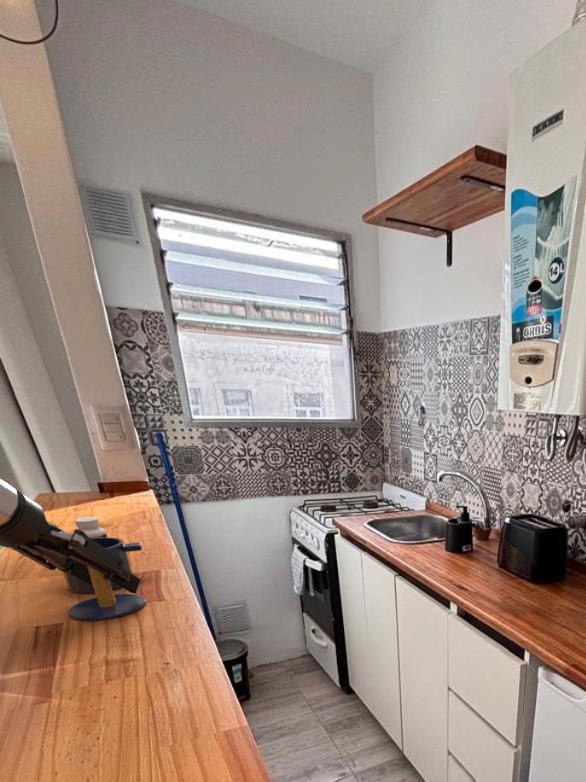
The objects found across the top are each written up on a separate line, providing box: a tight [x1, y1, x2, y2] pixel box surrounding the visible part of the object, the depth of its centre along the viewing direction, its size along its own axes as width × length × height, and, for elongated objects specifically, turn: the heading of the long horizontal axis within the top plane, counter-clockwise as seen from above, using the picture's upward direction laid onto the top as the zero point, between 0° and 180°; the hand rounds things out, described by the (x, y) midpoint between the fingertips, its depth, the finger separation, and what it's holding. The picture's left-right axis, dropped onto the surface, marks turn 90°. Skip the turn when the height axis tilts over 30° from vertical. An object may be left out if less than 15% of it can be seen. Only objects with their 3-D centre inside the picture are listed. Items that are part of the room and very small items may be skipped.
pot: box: [62, 536, 143, 595], centre depth 97 cm, size 10×16×8 cm, turn 119°
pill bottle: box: [74, 516, 108, 538], centre depth 109 cm, size 5×5×10 cm
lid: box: [68, 566, 147, 622], centre depth 87 cm, size 11×11×9 cm
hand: (120, 584), depth 91 cm, fingers open, 5 cm apart
